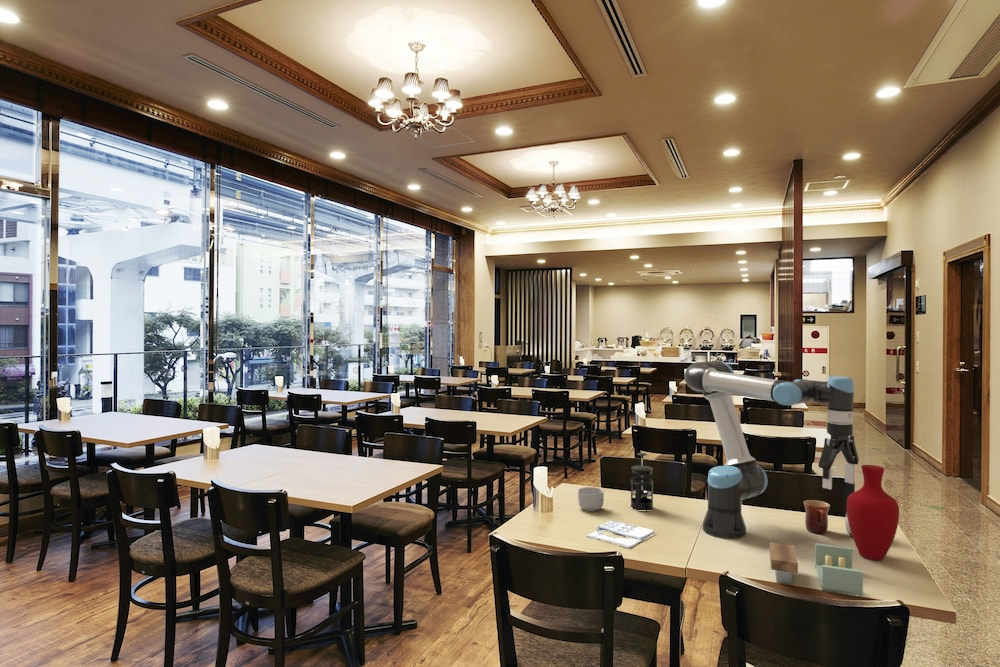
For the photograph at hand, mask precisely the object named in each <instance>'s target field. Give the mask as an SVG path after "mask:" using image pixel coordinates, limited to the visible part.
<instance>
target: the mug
mask: <svg viewBox="0 0 1000 667" xmlns="http://www.w3.org/2000/svg"><path fill="white" fill-rule="evenodd" d="M803 505H804V509H805V520H804V521H805V522H804V523H805V524H804V525H805V529H806V530H807V531H808V532H810V533H814V534H820V535H821V534H825V533H827V532H828V529H829V516H828V515H829V510H830V507H831V504H829V503H828V502H825V501H821V500H817V499H816V500H814V499H807V500H804V501H803Z"/></svg>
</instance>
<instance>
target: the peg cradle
mask: <svg viewBox="0 0 1000 667" xmlns="http://www.w3.org/2000/svg"><path fill="white" fill-rule="evenodd" d="M814 548H815V551H814V552H815V554H814V556H815V558H814V559H815V560H814V562H815V563H814V565H815V569H816V573H817V576H818V580H819V584H820V587H822V588H821V591H822V592H828V593H833V592H835V594H840V593H843V594H842V595H846V594H848V596H853V595H858V596H857V597H859V596H864V595H863V591H864V590H863V586H864V585H863V584H864V583H863V582H864V579H863V577H864V575H863V574H864V572H863V570H862V569H857V568H853V548H852V547H849V546H848V547H847V546H839V545H832V544H826V543H825V544H823V543H817V542H816V543H815V545H814Z"/></svg>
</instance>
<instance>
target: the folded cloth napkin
mask: <svg viewBox="0 0 1000 667" xmlns="http://www.w3.org/2000/svg"><path fill="white" fill-rule="evenodd" d="M601 530H606V531H609V532H612V533H616V534H615V535H618V534H620V535H619V536H622V535H623V536H622V537H624V536H628V537H632V538H635V539H626V538H613V537H609V536H606V534H607V533H600V532H602V531H601ZM606 531H605V532H606ZM651 534H655V530H654V529H650V528H646V527H642V526H636V525H633V524H628V523H623V522H618V521H615V520H609V521H607V522H605V523H602V524H600V525H597V529H596V530H595V531H593V532H591V533H588V534H587V535H585V537H586V536H587V538H590V537H592V538H591V539H594V538H597V539H601V540H605V541H609V542H612V543H615V544H619V545H622V546H625V547H628V548H627V549H629V548H630V549H632V548H633V547H635V546H636V545H635V544H637V543H639V542H641V541H642V542H644V541H645V540H644V539H646V538H648V537H649V536H650V535H651ZM597 539H596V540H597ZM648 539H649V538H648ZM601 540H600V541H601ZM643 540H644V541H643ZM646 540H647V539H646ZM642 542H641V543H642ZM615 544H614V545H615ZM639 544H640V543H639ZM634 545H635V546H634ZM637 545H638V544H637ZM632 546H633V547H632ZM631 547H632V548H631Z"/></svg>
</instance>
